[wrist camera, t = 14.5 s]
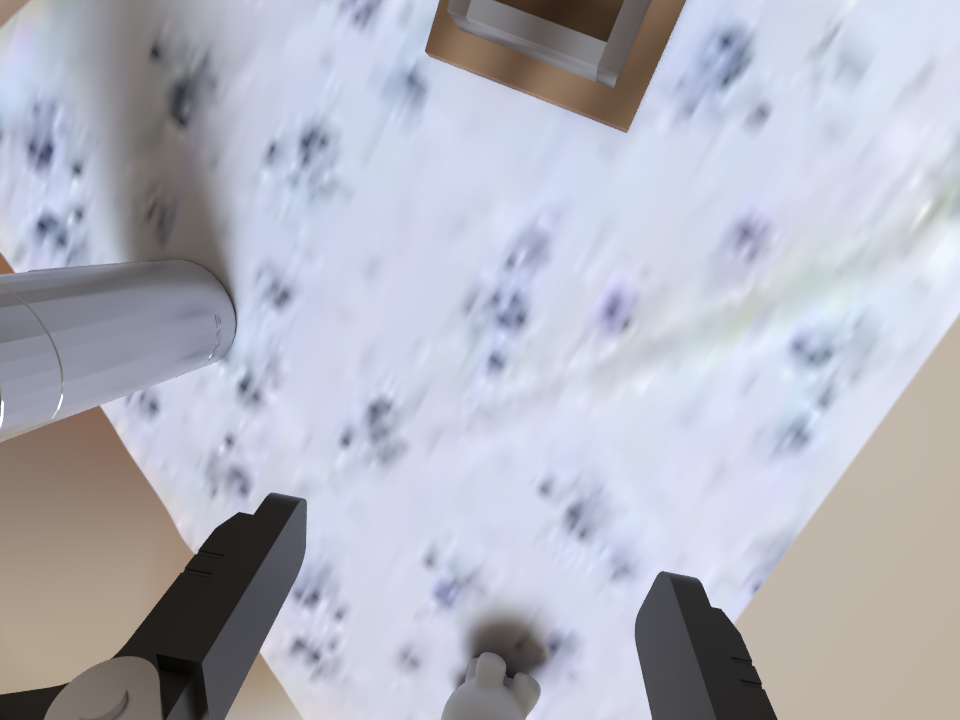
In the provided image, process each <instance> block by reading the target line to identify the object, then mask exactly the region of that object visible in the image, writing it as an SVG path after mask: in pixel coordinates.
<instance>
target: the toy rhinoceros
mask: <svg viewBox="0 0 960 720" xmlns="http://www.w3.org/2000/svg"><path fill="white" fill-rule="evenodd" d="M505 673H506V663H505V661H504V660H503V659H502V658H501V657H500V656H498V655H497V654H494V653H490V652H485V653H482V654H481V655H480V657H479V658H473V659H472V660H471V661H470V663H469V666H468V668H467V672H466V678H465V683H463V684H462V685H460V686H459V687H458V688H457V689H456V690H455V691H454V692H453V693H452V695H451V696H450V698H449V699H448V701H447V703H446V705H445V708H444V710H443V714H442V718H441V720H525V719H526V717H527V715H528V714H529V713H530V712H531V710H532V709H533V708H534V706H535V705H536V703H537V701H538V699H539V696H540V693H541V688H540V685H539V684H538V682H537V681H536V680H535V679H534V678H532V677H531V676H529V675H527V674H525V673H522V672H518V673H517V674H516V675H515V676H514V678H513V679H512V678H509V677H507V675H506V674H505Z"/></svg>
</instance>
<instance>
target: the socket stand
mask: <svg viewBox="0 0 960 720" xmlns="http://www.w3.org/2000/svg"><path fill="white" fill-rule="evenodd" d="M685 1H686V0H440V1H439V4H438V8H437V11H436V15H435V18H434V21H433V25H432V28H431V32H430V35H429V39H428V42H427V45H426V49H425V52H426V53H427V54H428V55H429V56H430V57H433V58H435V59H438V60H440V61H443V62H446V63H448V64H451V65H453V66H456V67H458V68H461V69H464V70H466V71H469V72H471V73H474V74H476V75H479V76H482V77H484V78H487V79H489V80H492V81H494V82H497V83H500V84H502V85H505V86H507V87H510V88H512V89H515V90H518V91H520V92H523V93H525V94H528V95H530V96H533V97H536V98H538V99H541V100H543V101H546V102H548V103H551V104H554V105H556V106H559V107H561V108H564V109H566V110H569V111H572V112H574V113H577V114H579V115H582V116H584V117H587V118H590V119H592V120H595V121H597V122H600V123H602V124H605V125H608V126H610V127H613V128H615V129H618V130H620V131H623V132H626V133H627V131H628V129H629V127H630V125H631V123H632V120H633V118H634V116H635V114H636V111H637V109H638V107H639V105H640V102H641V100H642V98H643V96H644V93H645V91H646V89H647V87H648V84H649V82H650V80H651V78H652V75H653V73H654V71H655V69H656V66H657V64H658V62H659V60H660V58H661V55H662V53H663V51H664V49H665V46H666V44H667V42H668V40H669V37H670V35H671V33H672V31H673V28H674V26H675V24H676V22H677V19H678V17H679V15H680V13H681V10H682V8H683V6H684V4H685Z"/></svg>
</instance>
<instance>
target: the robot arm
mask: <svg viewBox="0 0 960 720" xmlns="http://www.w3.org/2000/svg"><path fill="white" fill-rule="evenodd" d="M235 326H236V323H235V313H234V310H233V306H232V303H231V300H230V298H229V296H228V294H227V292H226V290H225V289H224V287H223V286H222V285H221V283H220V282H219V281H218V280H217V279H216V278H215V277H214V276H213V275H212V274H211V273H210V272H209V271H207V270H206V269H205V268H203V267H202V266H200V265H198V264H195V263H193V262H190V261H185V260H168V261H156V262H151V261H138V262H126V263H113V264H101V265H89V266H77V267H65V268H53V269H41V270H31V271H28V272H24V273H13V274H2V275H0V442H2V441H5V440H8V439H10V438H13V437H16V436H18V435H21V434H24V433H26V432H29V431H32V430H34V429H37V428H40V427H42V426H45V425H47V424H50V423H53V422H55V421H58V420H61V419H64V418H66V417H69V416H72V415H74V414H77V413H80V412H82V411H85V410H88V409H90V408H93V407H96V406H99V405H101V404H104V403H107V402H109V401H112V400H115V399H117V398H120V397H123V396H126V395H128V394H131V393H134V392H136V391H139V390H142V389H144V388H147V387H150V386H153V385H155V384H158V383H161V382H163V381H166V380H169V379H171V378H174V377H177V376H180V375H182V374H185V373H188V372H190V371H193V370H196V369H198V368H201V367H204V366H206V365H209V364H212V363H214V362H216V361H218V360H219V359H221V358H222V357H223V356H224V355H225V354H226V353H227V351H228V350H229V348H230V347H231V345H232V342H233V339H234V336H235ZM306 519H307V502H306V500H305V499H303V498H298V497H293V496H288V495H283V494H278V493H270V494H269V495H268V496H267V497H266V498H265V499H264V501H263V502H262V503H261V505H260V506H259V508H258V509H257V511H256V512H255V513H254V515H251V514H246V513H241V512H238V513H237V514H236V515H234V516H233V517H231V518H230V519H228V520H227V521H225V522H224V523H223V524H221V525H220V526H218V527H217V528H215V530H214V531H213V532H212V533H211V535H210V536H209V537H208V539H207V540H206V541H205V542H204V544H203V545H202V546H201V548H200V549H199V552H198V554H195V555H194V557H193V558H192V559H191V561H190V562H189V563H188V564H187V566H186V567H185V570H184V572H183V573H180V575H179V576H178V577H177V579H176V580H175V581H174V583H173V584H172V585H171V586H170V588H169V589H168V590H167V591H166V593H165V594H164V595H163V597H162V598H161V599H160V601H159V602H158V603H157V604H156V606H155V607H154V608H153V610H152V611H151V612H150V613H149V615H148V616H147V617H146V619H145V620H144V621H143V623H142V624H141V625H140V626H139V628H138V629H137V630H136V631H135V633H134V634H133V635H132V637H131V638H130V639H129V641H128V642H127V643H126V644H125V645H124V646H123V648H122V649H121V650H120V651H119V652H118V653H117V654H116V655H115V656H114V657H113V658H111V659H110V660H107V661H104V662H102V663H99V664H97V665H95V666H93V667H91V668H89V669H87V670H86V671H85V672H83V673H82V674H80V675H79V676H77V677H76V678H75V679H73V680H72V681H71V682H69V683H66V684H63V685H60V686H55V687H50V688H44V689H36V690H30V691H23V692H16V693H9V694H3V695H0V720H224V719H225V717H226V715H227V713H228V711H229V709H230V707H231V705H232V703H233V701H234V700H235V698H236V696H237V694H238V692H239V690H240V688H241V686H242V684H243V682H244V680H245V678H246V676H247V674H248V672H249V670H250V668H251V666H252V664H253V662H254V660H255V658H256V656H257V654H258V652H259V650H260V648H261V646H262V644H263V642H264V641H265V639H266V637H267V635H268V633H269V631H270V629H271V627H272V625H273V623H274V621H275V619H276V617H277V615H278V613H279V611H280V609H281V607H282V605H283V603H284V601H285V599H286V597H287V595H288V593H289V591H290V589H291V587H292V585H293V583H294V581H295V580H296V578H297V575H298V573H299V571H300V568H301V565H302V562H303V559H304V555H305V549H306ZM635 641H636V647H637V651H638V656H639V661H640V665H641V670H642V674H643V679H644V683H645V688H646V693H647V697H648V702H649V706H650V711H651V715H652V720H777V717H776V715H775V713H774V711H773V708H772V706H771V703H770V701H769V699H768V697H767V694H766V692H765V690H764V689H762V687H761V685H762V683H761V680H760V678H759V676H758V673H757V671H756V669H755V667H754V666H752V659H751V657H750V655H749V652H748V650H747V648H746V646H745V643H744V641H743V639H742V636H741V634H740V633H739V631H738V630H737V629H736V628H735V626H734V625H733V624H732V622H731V621H730V620H729V618H728V617H727V616H726V615H725V613H724V612H723V611H722V610H721V609H718V608H713V607H711V605H710V603H709V600H708V598H707V595H706V593H705V590H704V588H703V585H702V583H701V582H700V581H699V580H698V579H697V578H694V577H689V576H684V575H679V574H674V573H669V572H664V571H662V572H660V573H659V574H658V575H657V577H656V579H655V581H654V583H653V585H652V587H651V589H650V591H649V593H648V595H647V597H646V598H645V600H644V602H643V604H642V606H641V608H640V610H639V612H638V615H637V618H636V624H635Z"/></svg>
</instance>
